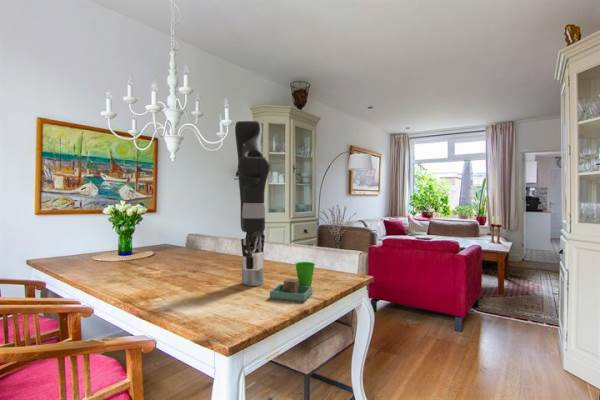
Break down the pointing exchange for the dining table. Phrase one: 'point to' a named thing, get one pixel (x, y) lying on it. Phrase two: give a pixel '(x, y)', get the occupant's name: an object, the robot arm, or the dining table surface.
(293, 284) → the walnut block
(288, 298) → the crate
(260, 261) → the cream box
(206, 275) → the dining table surface
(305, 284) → the cup
